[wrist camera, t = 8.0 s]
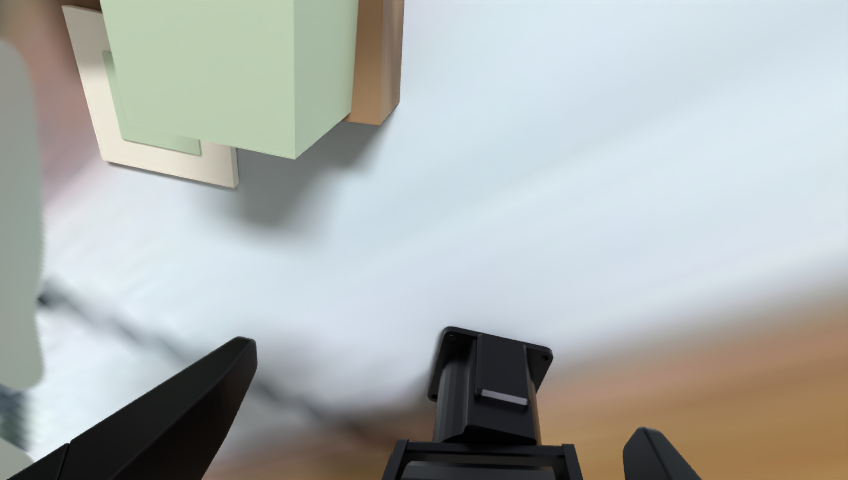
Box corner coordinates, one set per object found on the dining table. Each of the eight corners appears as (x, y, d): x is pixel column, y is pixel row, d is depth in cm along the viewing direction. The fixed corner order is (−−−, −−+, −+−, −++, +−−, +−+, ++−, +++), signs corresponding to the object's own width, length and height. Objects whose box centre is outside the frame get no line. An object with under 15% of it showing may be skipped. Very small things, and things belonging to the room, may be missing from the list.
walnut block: (400, 101, 18) (379, 125, 15) (271, 85, 19) (222, 106, 15) (408, -66, 15) (385, -83, 12) (253, -80, 16) (187, -100, 12)
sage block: (351, 111, 15) (294, 159, 11) (231, 87, 15) (128, 124, 11) (361, -37, 12) (293, -53, 8) (218, -65, 13) (78, -95, 8)
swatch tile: (239, 184, 21) (232, 189, 21) (110, 156, 21) (100, 160, 21) (227, 37, 18) (218, 38, 17) (71, 5, 18) (58, 5, 17)
